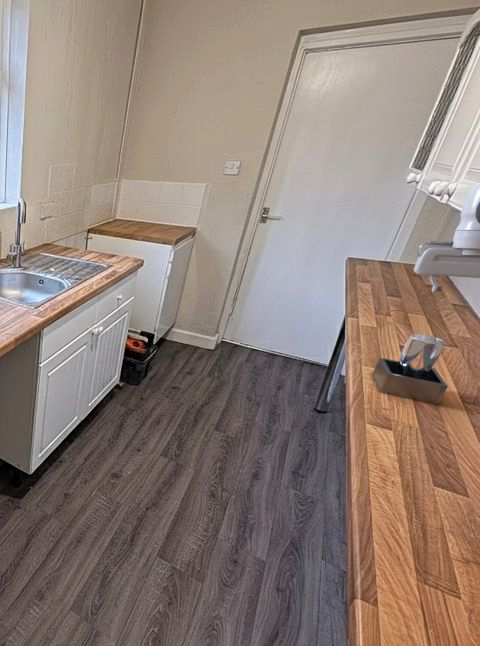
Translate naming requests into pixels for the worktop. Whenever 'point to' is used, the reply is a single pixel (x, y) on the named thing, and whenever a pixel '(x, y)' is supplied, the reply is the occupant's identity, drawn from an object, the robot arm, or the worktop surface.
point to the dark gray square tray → (408, 383)
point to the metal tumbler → (419, 355)
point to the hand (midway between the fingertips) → (461, 294)
